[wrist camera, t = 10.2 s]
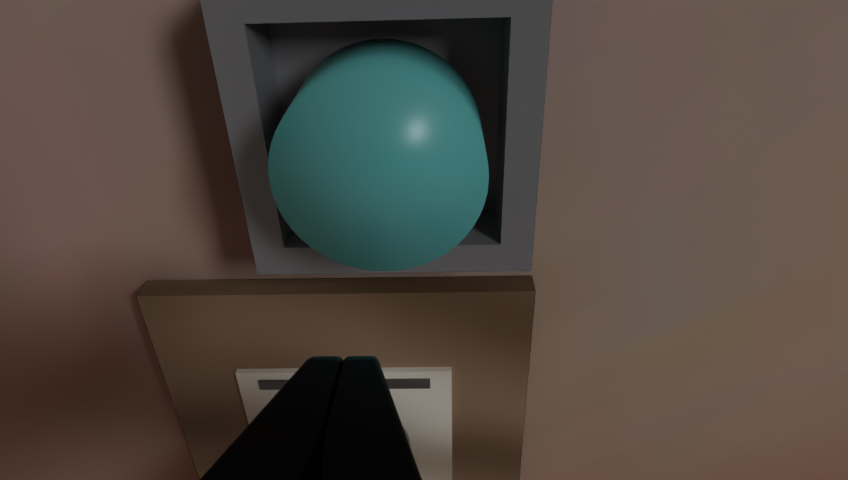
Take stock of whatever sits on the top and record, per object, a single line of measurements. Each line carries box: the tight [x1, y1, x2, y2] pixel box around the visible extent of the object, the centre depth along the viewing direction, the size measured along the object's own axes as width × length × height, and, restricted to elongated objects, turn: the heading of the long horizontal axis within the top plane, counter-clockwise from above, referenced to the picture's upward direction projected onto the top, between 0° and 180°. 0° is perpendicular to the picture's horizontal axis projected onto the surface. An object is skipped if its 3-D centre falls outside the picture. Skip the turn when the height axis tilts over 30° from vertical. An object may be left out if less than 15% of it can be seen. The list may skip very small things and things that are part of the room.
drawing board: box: [136, 276, 536, 480], centre depth 22 cm, size 13×12×1 cm
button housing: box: [200, 0, 553, 275], centre depth 15 cm, size 7×7×3 cm
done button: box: [268, 39, 489, 271], centre depth 13 cm, size 4×4×2 cm
